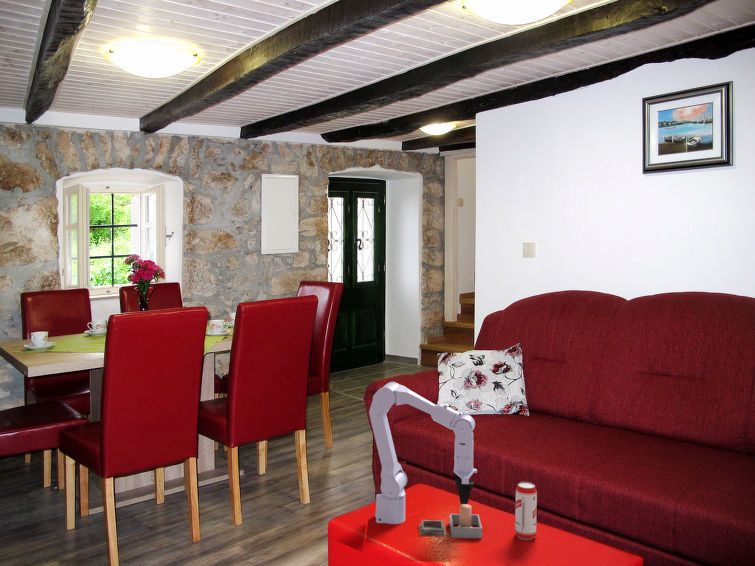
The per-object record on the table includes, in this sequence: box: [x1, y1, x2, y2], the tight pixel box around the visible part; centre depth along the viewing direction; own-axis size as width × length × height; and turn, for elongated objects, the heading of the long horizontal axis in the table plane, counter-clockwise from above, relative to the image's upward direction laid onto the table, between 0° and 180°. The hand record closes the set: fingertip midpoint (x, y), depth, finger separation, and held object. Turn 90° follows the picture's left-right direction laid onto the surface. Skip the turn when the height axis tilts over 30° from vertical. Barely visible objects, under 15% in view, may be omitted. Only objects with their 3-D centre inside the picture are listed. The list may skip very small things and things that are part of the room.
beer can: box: [514, 481, 538, 541], centre depth 202 cm, size 6×6×16 cm
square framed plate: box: [418, 519, 447, 537], centre depth 204 cm, size 8×8×2 cm
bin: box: [449, 513, 483, 539], centre depth 204 cm, size 9×10×4 cm
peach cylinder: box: [457, 504, 473, 527], centre depth 204 cm, size 4×4×8 cm
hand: (463, 498), depth 205 cm, fingers open, 7 cm apart
